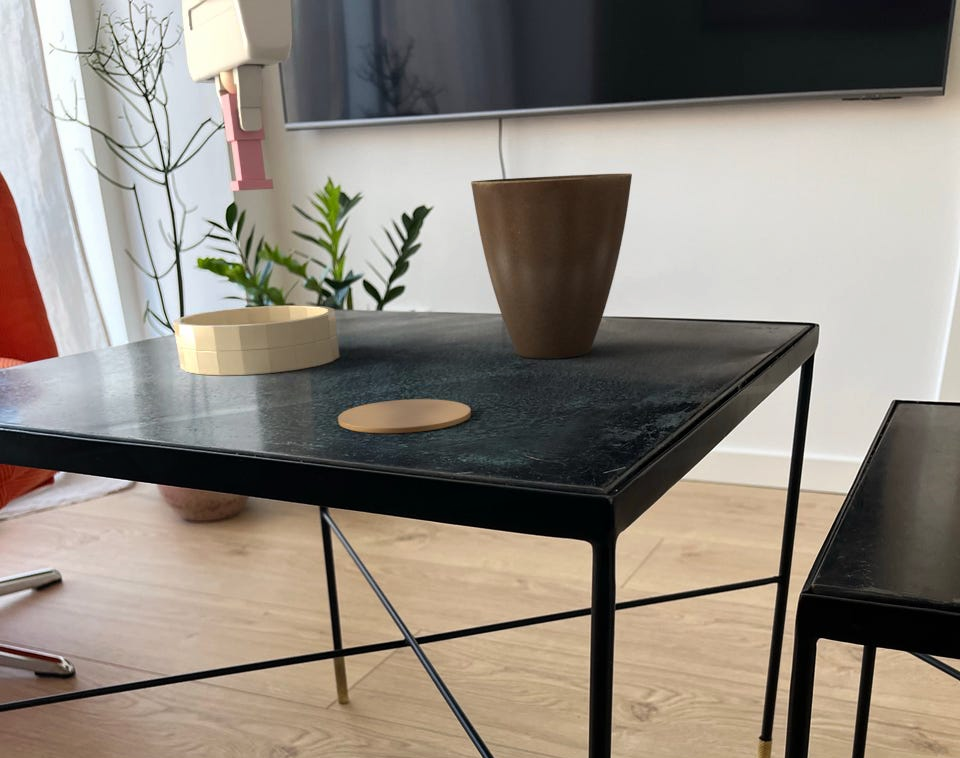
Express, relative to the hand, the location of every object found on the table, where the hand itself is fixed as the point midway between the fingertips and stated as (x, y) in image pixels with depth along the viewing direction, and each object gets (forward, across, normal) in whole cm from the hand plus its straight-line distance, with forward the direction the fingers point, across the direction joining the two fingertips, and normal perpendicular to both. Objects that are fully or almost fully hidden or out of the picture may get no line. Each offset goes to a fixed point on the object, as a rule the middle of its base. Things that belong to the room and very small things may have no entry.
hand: (244, 132), depth 89 cm
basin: (+21, -4, 0) cm, 21 cm away
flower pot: (+21, +10, +26) cm, 35 cm away
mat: (+21, +27, +2) cm, 34 cm away
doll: (+5, 0, 0) cm, 5 cm away
